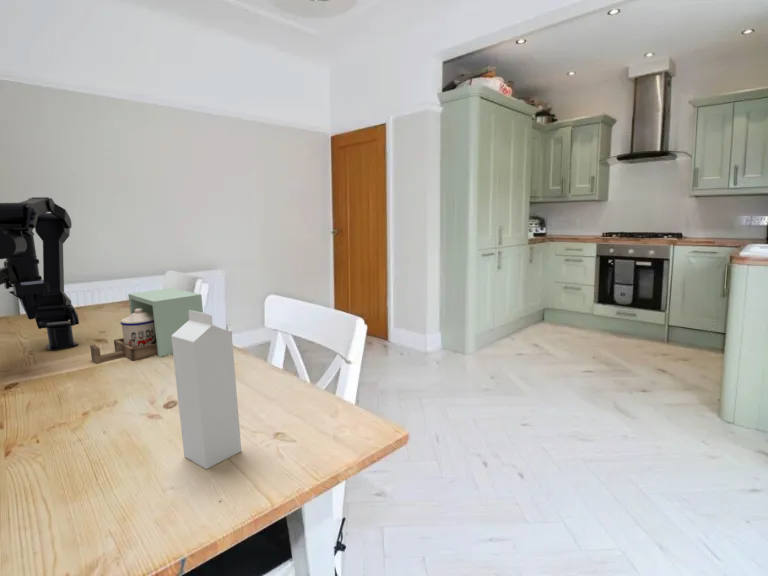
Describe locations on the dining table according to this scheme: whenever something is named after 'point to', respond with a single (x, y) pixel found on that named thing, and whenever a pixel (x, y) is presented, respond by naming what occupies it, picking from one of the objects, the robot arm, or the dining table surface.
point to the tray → (123, 352)
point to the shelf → (166, 312)
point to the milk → (206, 390)
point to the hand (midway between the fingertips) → (31, 319)
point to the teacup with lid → (139, 329)
